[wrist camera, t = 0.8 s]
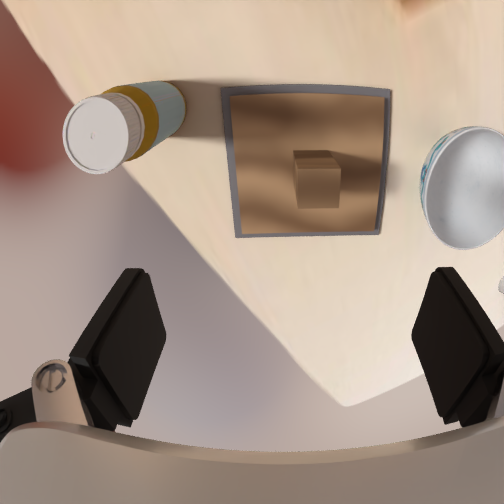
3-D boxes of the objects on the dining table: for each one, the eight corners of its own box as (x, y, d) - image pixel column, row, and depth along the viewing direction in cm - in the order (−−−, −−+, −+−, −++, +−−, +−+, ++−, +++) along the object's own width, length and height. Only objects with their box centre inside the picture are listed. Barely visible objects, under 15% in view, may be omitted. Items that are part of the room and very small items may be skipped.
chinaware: (488, 114, 28) (524, 127, 21) (484, 213, 36) (512, 239, 29) (394, 117, 30) (423, 130, 24) (400, 227, 38) (422, 259, 32)
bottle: (165, 69, 29) (99, 71, 17) (199, 114, 32) (152, 143, 20) (122, 105, 32) (45, 132, 19) (154, 147, 34) (92, 196, 22)
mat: (221, 88, 30) (220, 88, 30) (388, 89, 29) (390, 89, 28) (235, 236, 41) (235, 237, 40) (377, 233, 39) (378, 234, 39)
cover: (230, 96, 30) (218, 101, 24) (382, 96, 29) (410, 104, 22) (242, 230, 40) (236, 266, 33) (372, 228, 38) (390, 262, 32)
